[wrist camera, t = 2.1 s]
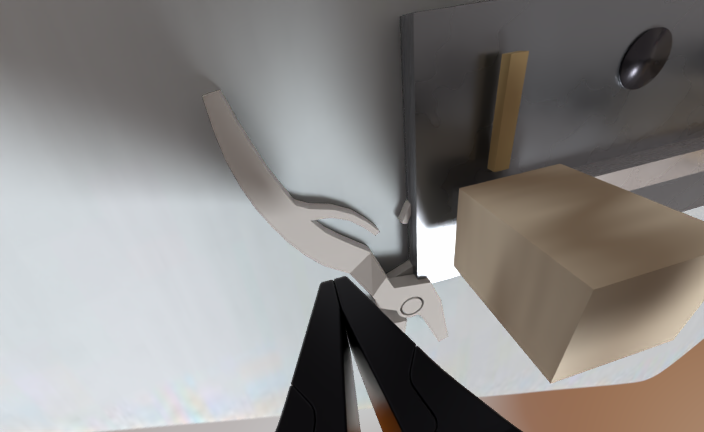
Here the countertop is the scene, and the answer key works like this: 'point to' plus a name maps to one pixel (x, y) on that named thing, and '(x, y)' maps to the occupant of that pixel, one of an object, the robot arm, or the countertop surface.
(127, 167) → the countertop surface
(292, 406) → the robot arm
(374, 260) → the pliers
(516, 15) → the plate
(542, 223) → the block
